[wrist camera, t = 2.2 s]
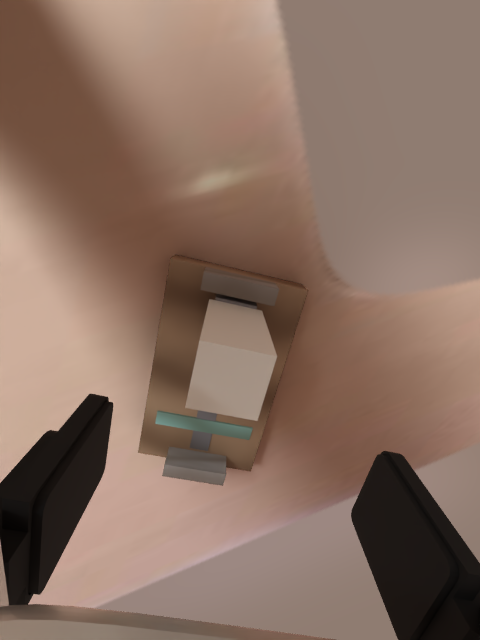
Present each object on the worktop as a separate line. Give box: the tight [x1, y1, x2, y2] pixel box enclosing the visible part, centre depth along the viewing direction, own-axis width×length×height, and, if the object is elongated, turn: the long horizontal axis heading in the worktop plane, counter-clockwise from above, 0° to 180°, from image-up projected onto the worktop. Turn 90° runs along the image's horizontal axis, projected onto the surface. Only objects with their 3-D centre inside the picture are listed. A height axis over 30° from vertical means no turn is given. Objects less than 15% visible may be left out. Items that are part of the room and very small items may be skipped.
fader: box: [185, 294, 277, 421], centre depth 19 cm, size 4×4×9 cm
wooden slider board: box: [138, 255, 308, 486], centre depth 24 cm, size 17×10×4 cm, turn 166°
